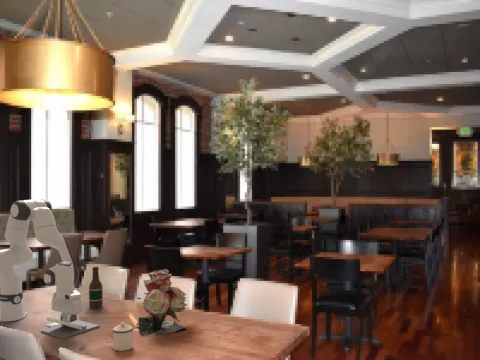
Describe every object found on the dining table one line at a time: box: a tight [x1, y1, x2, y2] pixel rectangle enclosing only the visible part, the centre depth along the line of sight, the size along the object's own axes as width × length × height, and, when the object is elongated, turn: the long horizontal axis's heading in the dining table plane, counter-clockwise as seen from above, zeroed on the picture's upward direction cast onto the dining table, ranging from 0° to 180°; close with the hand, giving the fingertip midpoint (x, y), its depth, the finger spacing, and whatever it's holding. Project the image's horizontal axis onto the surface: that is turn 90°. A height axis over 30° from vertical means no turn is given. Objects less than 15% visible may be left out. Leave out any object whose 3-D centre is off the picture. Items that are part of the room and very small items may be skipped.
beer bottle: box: [88, 266, 104, 309], centre depth 300 cm, size 8×8×24 cm
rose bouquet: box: [135, 268, 188, 337], centre depth 257 cm, size 26×29×30 cm
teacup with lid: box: [109, 321, 134, 352], centre depth 227 cm, size 12×9×12 cm
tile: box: [46, 317, 82, 329], centre depth 252 cm, size 12×14×1 cm
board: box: [40, 319, 100, 340], centre depth 255 cm, size 18×22×3 cm
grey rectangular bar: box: [45, 314, 78, 328], centre depth 267 cm, size 16×5×4 cm, turn 145°
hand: (66, 321), depth 251 cm, fingers closed, pressing on tile
